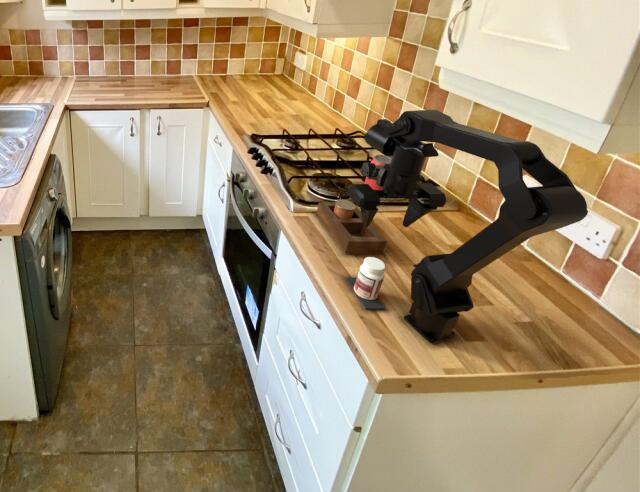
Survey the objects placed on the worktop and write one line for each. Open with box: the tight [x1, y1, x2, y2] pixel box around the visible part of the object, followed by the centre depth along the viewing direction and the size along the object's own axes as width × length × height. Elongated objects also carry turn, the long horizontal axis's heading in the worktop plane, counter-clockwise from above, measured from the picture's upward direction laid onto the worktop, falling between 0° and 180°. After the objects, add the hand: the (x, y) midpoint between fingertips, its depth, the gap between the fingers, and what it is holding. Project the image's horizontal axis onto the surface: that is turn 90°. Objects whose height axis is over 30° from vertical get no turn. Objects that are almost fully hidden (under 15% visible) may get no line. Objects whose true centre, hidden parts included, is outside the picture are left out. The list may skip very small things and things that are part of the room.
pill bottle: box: [353, 256, 386, 300], centre depth 89 cm, size 5×5×8 cm
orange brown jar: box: [333, 198, 357, 218], centre depth 113 cm, size 5×5×6 cm
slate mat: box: [345, 277, 386, 311], centre depth 91 cm, size 9×4×1 cm, turn 179°
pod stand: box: [315, 201, 388, 255], centre depth 110 cm, size 10×17×4 cm, turn 0°
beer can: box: [363, 154, 392, 190], centre depth 126 cm, size 7×7×12 cm
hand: (384, 226), depth 93 cm, fingers open, 9 cm apart
